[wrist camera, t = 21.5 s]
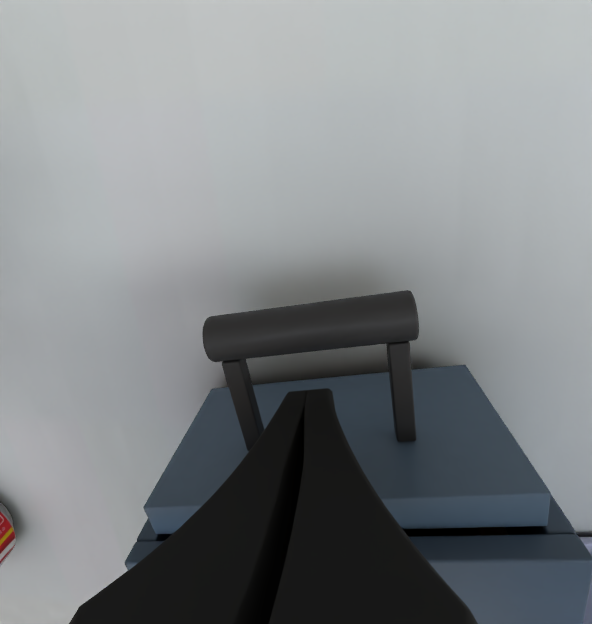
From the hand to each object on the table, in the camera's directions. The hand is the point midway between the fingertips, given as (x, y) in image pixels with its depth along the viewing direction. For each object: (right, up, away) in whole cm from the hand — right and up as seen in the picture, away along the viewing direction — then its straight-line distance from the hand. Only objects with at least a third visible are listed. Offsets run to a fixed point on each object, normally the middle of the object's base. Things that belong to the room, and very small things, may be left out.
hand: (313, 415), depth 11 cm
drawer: (+2, -3, +6) cm, 7 cm away
